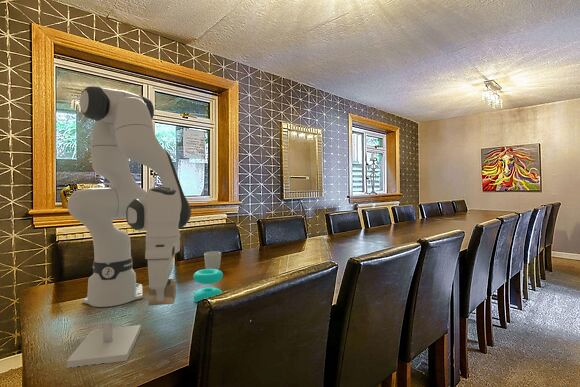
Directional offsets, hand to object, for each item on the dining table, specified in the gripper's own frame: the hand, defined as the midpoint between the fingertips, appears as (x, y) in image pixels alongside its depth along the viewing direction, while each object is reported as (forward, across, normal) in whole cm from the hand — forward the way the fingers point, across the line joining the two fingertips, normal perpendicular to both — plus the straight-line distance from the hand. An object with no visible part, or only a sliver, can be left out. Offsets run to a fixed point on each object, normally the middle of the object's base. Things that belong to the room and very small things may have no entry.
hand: (162, 294), depth 90 cm
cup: (+11, -62, +15) cm, 65 cm away
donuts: (+10, -19, +13) cm, 25 cm away
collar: (+2, 0, 0) cm, 2 cm away
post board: (+9, +9, -11) cm, 17 cm away
